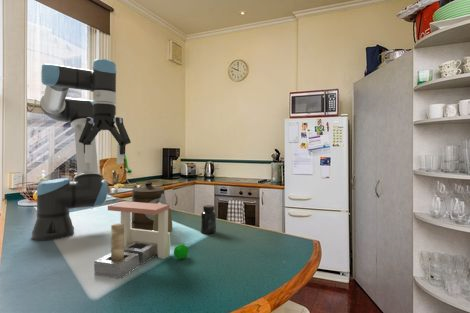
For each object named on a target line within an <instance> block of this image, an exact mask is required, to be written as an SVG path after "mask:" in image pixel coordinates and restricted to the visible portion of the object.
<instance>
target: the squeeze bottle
mask: <svg viewBox="0 0 470 313" xmlns="http://www.w3.org/2000/svg"><path fill="white" fill-rule="evenodd" d="M157 204H166V205H169V206H170V204H169V202H167V199H166V194H165V193H164V194H162V196H161V200H160V202H159V203H157ZM173 229H174V228H173V218H172V209H171V208H170V207H169V209H168V232H169V233H170V235H171V234H172V231H173ZM153 230H154V231H158V214H156V215H154V223H153Z"/></svg>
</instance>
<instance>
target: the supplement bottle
mask: <svg viewBox="0 0 470 313" xmlns="http://www.w3.org/2000/svg"><path fill="white" fill-rule="evenodd" d="M202 209H203V210H202V212H201V214H200V233H201V234H203V235H204V236H207V235H208V236H211V235H214V234H216V233H217V212H215V206H214V205H212V204H205V205H203V208H202Z"/></svg>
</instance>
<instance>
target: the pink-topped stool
mask: <svg viewBox="0 0 470 313" xmlns="http://www.w3.org/2000/svg"><path fill="white" fill-rule="evenodd" d="M169 208H170V204H169V205H166V204H153V203H141V202H132V201H127V200H124V201H121V202H120V201H119V202H118V203H113V204H109V205H107V211H112V212H120V224H124V246H125V245H127V244H129V243H131V242H133V241H141V242H149V243H157V254H158V255H157V258H158V259H164V260H165V258H166V259H167V257H170V256H171V234H170V233H169V232H168V209H169ZM132 213H142V214H153V215H156V214H158V231H151V230H142V229H133V228H131V222H132V219H131V216H132Z"/></svg>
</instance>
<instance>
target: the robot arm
mask: <svg viewBox="0 0 470 313" xmlns="http://www.w3.org/2000/svg"><path fill="white" fill-rule="evenodd" d="M40 77H41V83H42V85H44V86H45V88H44V89H45V90H44V95H43V96H42V97H41V98H40V102H39V105H40V110H42V112H43V113H44V114H45V115H46V116H47V117H49V118H51V119H53V120H55V121H58V122H61V123H64V122H65V123H70V128H72V129H74V140H75V141H74V142H75V156H76V168H77V169H76V171H77V174H76V175H75V177H74V178H73V181H71V180H70V178H67V177H65V178H63V177H62V178H55V179H49V180H45V181H41V182H40V183H38V184H37V186H36V194H35V195H36V219H35V223H34V224H33V225H34V226H33V229H32V230H31V239H32V240H35V241H53V240H60V239H63V238H68V237H70V236H72V235H74V234H75V227H74V225H73V222H72V219H71V216H70V210H71V209H80V208H81V209H82V208H91V207H93V208H94V207H100V206H103V205H104V204H105V203H106V201H107V197H108V180H106V179H103V175H102V174H101V173H100V172H99V166H98V155H97V154H98V153H97V146H96V145H97V144H96V142H97V141H96V136H97V135H98V134H99V132H101V131H109V133H110V134H111V135H112V136H113V138H114V139H115V141H116V142H117V145H116V165H123V164H125V163H124V162H125V161H124V158H125V157H124V155H126V146H127V145H128V144H131V139H130V137H129V134H128V131H127V130H126V128H125V125H124V119H123V117H120V116H119V117H118V116H117V117H115V116H116V114H117V107H116V104H117V93H116V92H117V65H116V62H114V61H113V60H110V59H106V58H96V59H93V63H92V69H91V70H90V69H84V68H76V67H71V66H65V65H58V64H56V63H55V64H53V63H43V64H42V65H41V76H40ZM69 89H74V90H81V91H90V92H92V99H88V98H87V99H83V98H74V97H67V96H68V92H69ZM115 125H116V126H115Z"/></svg>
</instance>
